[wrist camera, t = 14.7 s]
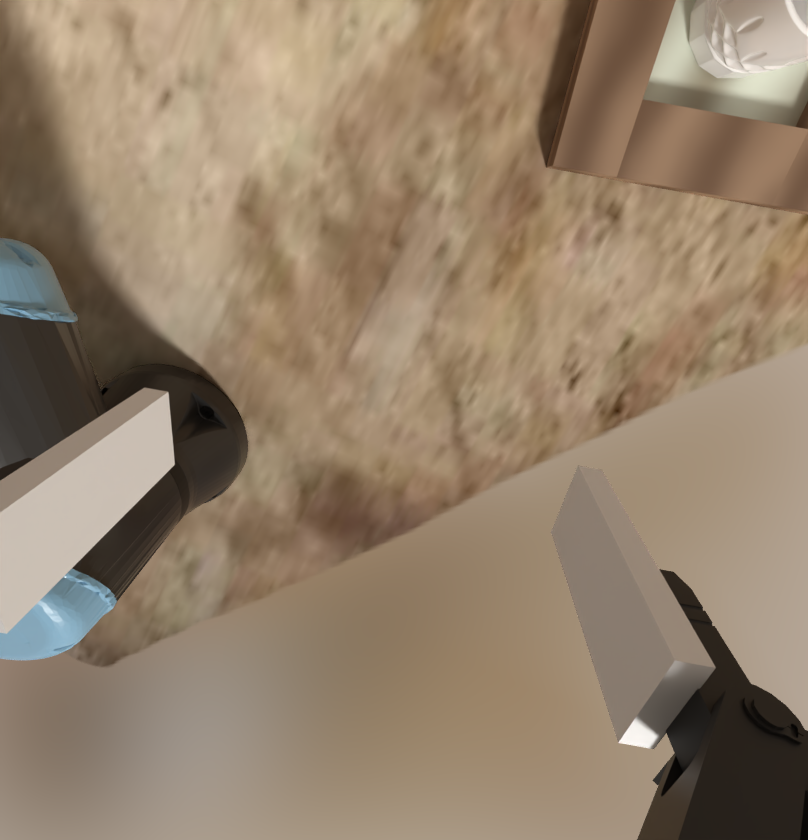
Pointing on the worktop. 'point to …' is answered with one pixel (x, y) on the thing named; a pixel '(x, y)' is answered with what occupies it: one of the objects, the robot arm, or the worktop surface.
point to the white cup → (748, 35)
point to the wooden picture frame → (679, 113)
